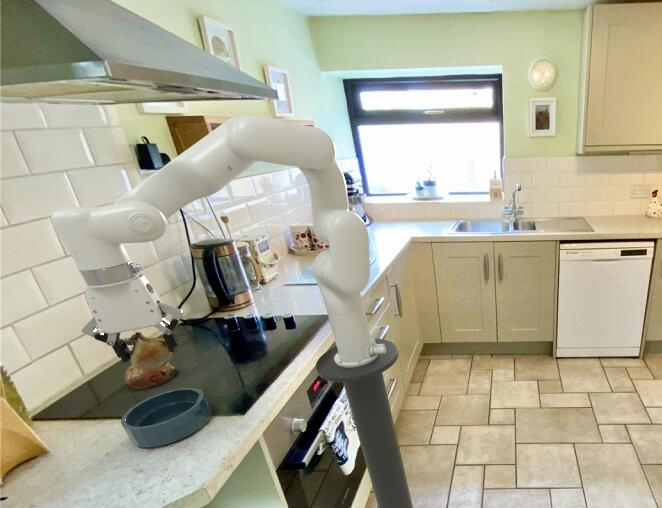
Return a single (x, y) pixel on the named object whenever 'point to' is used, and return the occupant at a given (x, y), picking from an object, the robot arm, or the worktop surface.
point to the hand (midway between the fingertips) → (151, 353)
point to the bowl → (166, 417)
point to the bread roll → (148, 376)
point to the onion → (148, 352)
